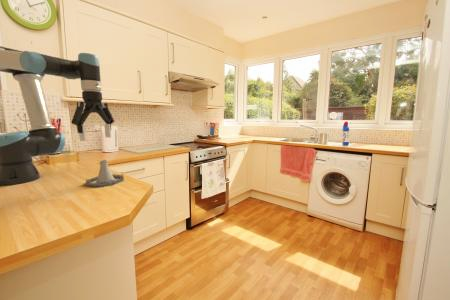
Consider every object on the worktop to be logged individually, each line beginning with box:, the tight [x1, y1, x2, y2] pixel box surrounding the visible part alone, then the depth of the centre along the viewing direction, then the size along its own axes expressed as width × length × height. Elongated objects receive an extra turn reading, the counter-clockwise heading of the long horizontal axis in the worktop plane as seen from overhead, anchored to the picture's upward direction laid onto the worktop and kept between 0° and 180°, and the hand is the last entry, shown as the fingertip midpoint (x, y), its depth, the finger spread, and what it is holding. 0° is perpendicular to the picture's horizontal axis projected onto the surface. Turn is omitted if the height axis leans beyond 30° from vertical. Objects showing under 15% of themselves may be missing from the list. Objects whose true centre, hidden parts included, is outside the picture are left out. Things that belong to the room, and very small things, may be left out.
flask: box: [95, 159, 116, 183], centre depth 98 cm, size 7×7×10 cm
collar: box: [85, 173, 125, 188], centre depth 98 cm, size 15×15×2 cm
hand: (96, 139), depth 97 cm, fingers open, 13 cm apart
